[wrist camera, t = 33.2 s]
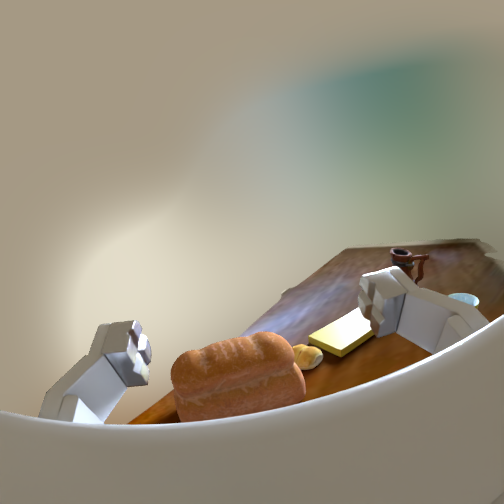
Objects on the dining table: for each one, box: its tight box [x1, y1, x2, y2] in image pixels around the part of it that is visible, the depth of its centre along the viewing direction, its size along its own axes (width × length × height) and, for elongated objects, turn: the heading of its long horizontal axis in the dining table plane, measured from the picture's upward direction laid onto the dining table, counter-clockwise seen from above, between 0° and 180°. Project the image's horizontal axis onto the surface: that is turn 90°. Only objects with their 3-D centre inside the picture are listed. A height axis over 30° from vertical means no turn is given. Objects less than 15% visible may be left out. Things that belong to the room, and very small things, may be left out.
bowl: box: [448, 293, 479, 309], centre depth 62 cm, size 11×12×6 cm
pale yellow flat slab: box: [308, 308, 374, 357], centre depth 74 cm, size 12×2×24 cm
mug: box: [390, 248, 429, 288], centre depth 92 cm, size 18×12×15 cm, turn 27°
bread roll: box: [292, 344, 323, 370], centre depth 65 cm, size 8×9×4 cm
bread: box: [171, 331, 306, 423], centre depth 51 cm, size 14×26×15 cm, turn 108°
